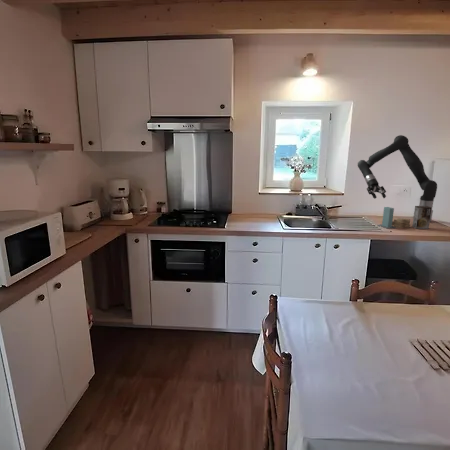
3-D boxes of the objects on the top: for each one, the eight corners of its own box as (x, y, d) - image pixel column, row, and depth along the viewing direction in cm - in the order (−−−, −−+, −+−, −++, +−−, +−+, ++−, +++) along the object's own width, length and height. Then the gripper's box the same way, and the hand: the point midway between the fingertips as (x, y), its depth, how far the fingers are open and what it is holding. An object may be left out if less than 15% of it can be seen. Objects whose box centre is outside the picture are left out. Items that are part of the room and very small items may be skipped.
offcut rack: (396, 223, 255) (397, 215, 254) (409, 227, 243) (411, 219, 241) (385, 223, 252) (386, 216, 251) (398, 228, 240) (400, 220, 238)
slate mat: (386, 225, 249) (386, 224, 249) (396, 228, 240) (396, 227, 240) (377, 225, 247) (377, 224, 247) (387, 228, 238) (387, 227, 238)
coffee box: (424, 227, 244) (427, 205, 240) (428, 229, 237) (432, 207, 233) (411, 226, 244) (414, 205, 241) (415, 228, 238) (419, 207, 234)
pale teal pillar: (385, 224, 247) (388, 206, 243) (391, 226, 241) (394, 208, 238) (381, 225, 246) (384, 207, 242) (387, 227, 240) (390, 208, 237)
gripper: (366, 178, 251) (375, 195, 243) (381, 178, 255) (390, 194, 247) (361, 184, 257) (369, 201, 249) (376, 184, 261) (385, 200, 253)
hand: (380, 197), depth 248 cm, fingers open, 8 cm apart
